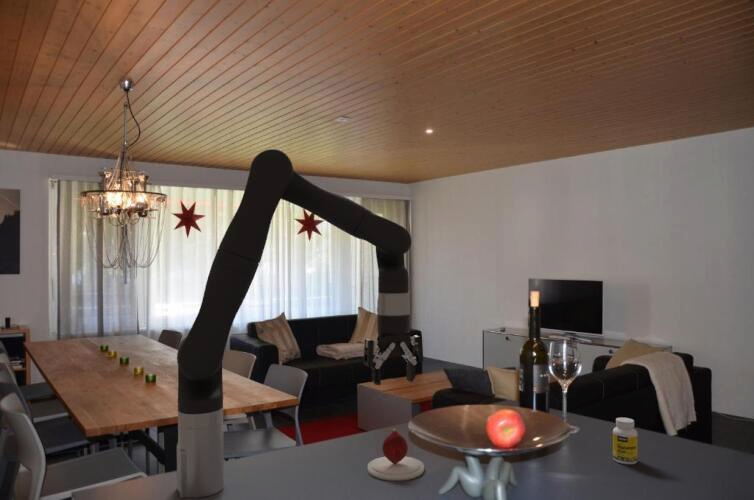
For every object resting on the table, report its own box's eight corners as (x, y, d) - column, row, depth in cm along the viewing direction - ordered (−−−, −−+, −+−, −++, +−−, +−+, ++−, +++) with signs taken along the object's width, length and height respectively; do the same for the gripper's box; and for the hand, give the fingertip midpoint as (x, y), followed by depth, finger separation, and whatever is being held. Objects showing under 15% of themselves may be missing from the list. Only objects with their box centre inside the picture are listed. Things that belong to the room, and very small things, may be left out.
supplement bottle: (614, 464, 137) (614, 422, 137) (611, 456, 142) (610, 415, 142) (639, 465, 136) (639, 423, 136) (635, 457, 141) (634, 417, 141)
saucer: (383, 484, 126) (383, 478, 126) (358, 465, 138) (358, 459, 138) (434, 474, 132) (434, 468, 132) (407, 456, 144) (407, 451, 144)
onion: (412, 466, 133) (411, 430, 133) (388, 469, 131) (388, 434, 131) (401, 458, 139) (401, 424, 139) (378, 461, 136) (378, 427, 137)
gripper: (372, 315, 128) (373, 389, 128) (428, 312, 135) (429, 382, 135) (358, 312, 135) (359, 382, 135) (412, 309, 141) (413, 376, 141)
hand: (394, 382), depth 135 cm, fingers open, 8 cm apart
